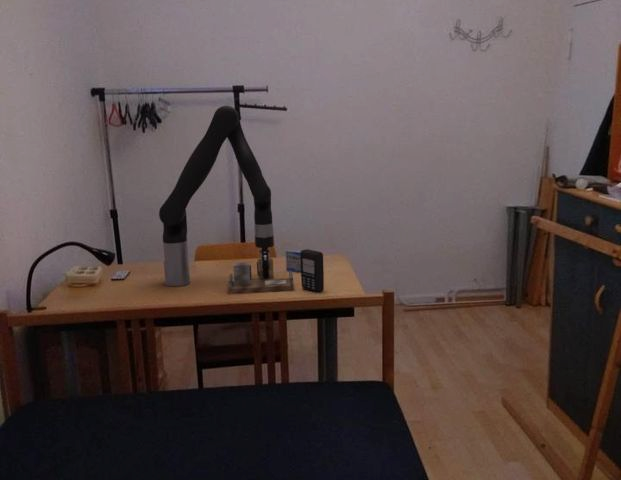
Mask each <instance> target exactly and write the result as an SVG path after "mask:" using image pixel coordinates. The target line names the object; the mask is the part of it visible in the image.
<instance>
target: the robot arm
mask: <svg viewBox="0 0 621 480" xmlns="http://www.w3.org/2000/svg"><path fill="white" fill-rule="evenodd" d="M245 136H246V135H245V134H244V131H243V128H242V124H241V120H240V116H239V112H238V111H237V110H236V109H235V107H233V106H230V105H221V106H219V107H218V108H216V110H215V112H214V113H213V117H212V119H211V121H210V124H209V125H208V128H207V130H206V131H205V134H204V136H203V137H202V138H201V140H200V141H199V143H198V144H197V146H196V147H195V149H194V150H193V151H192V153H191V155H190V156H189V158H188V159H187V161H186V163H185V165H184V167H183V169H182V171H181V173H180V174H179V175H180V176H179V177H178V180H177V182H176V184H175V186H174V188H173V190H171V193H170V194H169V195H168V197H167V198H166V200H165V201H164V203H163V204H162V205H161V207H160V208H159V211H158V217H159V220H160V222H161V223H162V224H163V232H162V244H163V245H162V246H163V255H164V259H163V260H164V262H163V268H164V269H163V270H164V283H165V287H166V286H167V287H168V286H170V287H181V286H182V287H183V286H185V285H188V284H189V285H190V283H191V275H190V273H191V272H190V263H189V249H188V248H189V247H188V238H187V237H188V236H187V235H188V221H187V220H188V219H187V207H188V205H189V203H190V201H191V199H192V197H193V196H194V195H195V194H196V192H198V190H199V189H200V188H201V186H202V185H203V183H204V182H205V181H206V179H207V177H208V176H209V174H210V172H211V171H212V169H213V167H214V166H215V164H216V160H217V158H218V155H219V153H220V151H221V148H222V147H223V144H224V143H225V141H226V140H227V139H228V141H229V143H230V146H231V148H232V150H233V153H234V156H235V159H236V162H237V164H238V166H239V169H240V171H241V172H242V175H243V177H244V179H245V180H246V183H247V185H248V187H249V191H250V192H251V195H252V197H253V204H254V210H253V211H254V212H253V213H254V215H253V220H254V228H253V229H254V231H253V232H254V246H255V247H256V248H259V249H260V248H261V249H260V250H259V254H260V255H259V256H260V259H261V263H262V266H263V267H262V268H263V278H269V262H270V259H271V258H270V256H271V250H270V249H269V248H272V247H274V246H275V238H274V225H273V211H272V191H271V188H270V186H269V185H268V183H267V181H266V180H265V177H264V175H263V172H262V169H261V166H260V165H259V162H258V160H257V158H256V156H255V155H254V152H253V151H252V148H251V147H250V145H249V143H248V141H247V138H246V137H245ZM264 264H267V266H264Z"/></svg>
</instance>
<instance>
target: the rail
mask: <svg viewBox="0 0 621 480" xmlns="http://www.w3.org/2000/svg"><path fill="white" fill-rule="evenodd" d="M232 265H233V274H232V273H229V275H228V281H227V282H228V294H229V295H235V294H255V293H258V294H259V293H273V292H274V293H275V292H292V291H294V290H295V289H294V288H295V287H294V275H293V272H292V271H288V277H289V278H274V279H268V280H259V279H254V280H253V279H252V265H251V263H250V262H234V263H233V264H232Z"/></svg>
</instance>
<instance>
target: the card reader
mask: <svg viewBox="0 0 621 480" xmlns="http://www.w3.org/2000/svg"><path fill="white" fill-rule="evenodd" d="M301 250H302V251H301V252H300V259H301V272H300V276H301V278H300V279H301V288H303V289H304V290H307V291H310V292H314V293H321V292H323V291H324V290H325V289H324V288H325V283H324V282H325V279H324V277H325V276H324V275H325V274H324V271H325V270H324V253H322V252H321V251H316V250H312V249H307V248H306V249H301Z"/></svg>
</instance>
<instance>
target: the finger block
mask: <svg viewBox="0 0 621 480" xmlns="http://www.w3.org/2000/svg"><path fill="white" fill-rule="evenodd" d="M264 266H267V264H264ZM262 267H263V266H262V263H261V258H258V259H257V262H256V271H257V277H258V280H268V279H275V275H274V273H275V272H274V259H273V258H270V262H269V278H263V268H262Z"/></svg>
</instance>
